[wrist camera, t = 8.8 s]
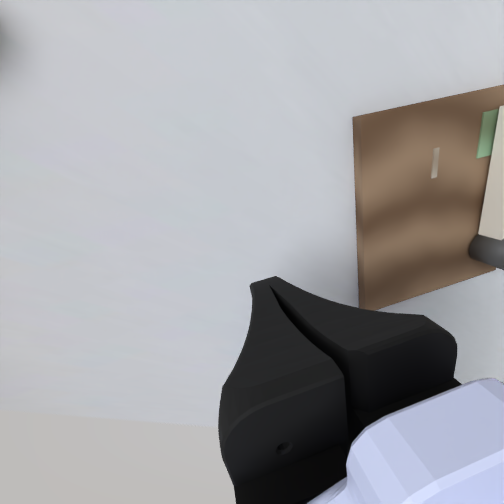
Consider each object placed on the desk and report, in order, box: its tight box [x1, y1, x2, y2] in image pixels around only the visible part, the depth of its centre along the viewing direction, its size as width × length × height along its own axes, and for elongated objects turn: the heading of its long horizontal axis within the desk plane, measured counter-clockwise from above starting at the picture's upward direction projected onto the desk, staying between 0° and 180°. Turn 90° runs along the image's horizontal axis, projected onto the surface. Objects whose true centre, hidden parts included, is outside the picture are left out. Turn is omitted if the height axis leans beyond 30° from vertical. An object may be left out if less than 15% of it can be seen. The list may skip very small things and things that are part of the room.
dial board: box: [353, 85, 504, 311], centre depth 24 cm, size 18×16×1 cm
